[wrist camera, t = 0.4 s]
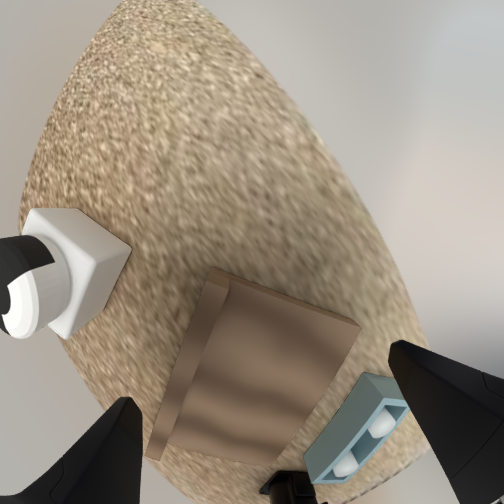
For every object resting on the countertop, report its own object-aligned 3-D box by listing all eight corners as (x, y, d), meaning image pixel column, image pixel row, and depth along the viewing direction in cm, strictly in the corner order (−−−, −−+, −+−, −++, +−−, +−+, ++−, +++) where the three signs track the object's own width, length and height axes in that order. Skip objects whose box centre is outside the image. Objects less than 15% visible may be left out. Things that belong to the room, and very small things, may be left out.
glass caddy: (334, 457, 27) (346, 485, 21) (302, 455, 26) (312, 486, 21) (394, 378, 26) (418, 403, 20) (363, 372, 25) (386, 400, 20)
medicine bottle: (51, 270, 21) (-34, 302, 10) (77, 207, 21) (-18, 206, 9) (103, 312, 22) (29, 374, 10) (134, 248, 22) (51, 278, 10)
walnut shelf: (267, 456, 26) (272, 485, 21) (154, 425, 24) (144, 455, 19) (353, 319, 24) (377, 341, 19) (211, 266, 22) (205, 280, 17)
